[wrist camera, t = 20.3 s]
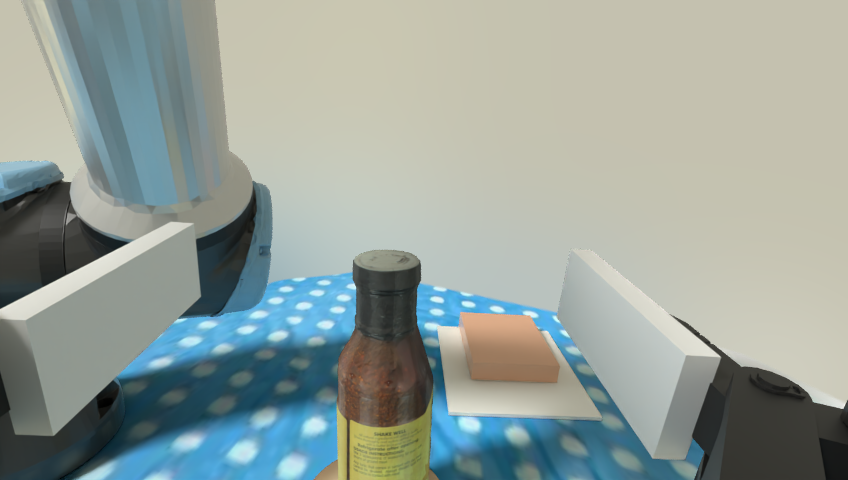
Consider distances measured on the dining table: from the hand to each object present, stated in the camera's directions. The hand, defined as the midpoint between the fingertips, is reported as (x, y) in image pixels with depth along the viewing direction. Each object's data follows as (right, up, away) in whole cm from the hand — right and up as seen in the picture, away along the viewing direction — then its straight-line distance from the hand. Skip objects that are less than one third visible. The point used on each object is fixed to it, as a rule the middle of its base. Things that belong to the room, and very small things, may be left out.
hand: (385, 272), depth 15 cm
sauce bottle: (-2, -19, +16) cm, 25 cm away
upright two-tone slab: (+12, -14, +33) cm, 38 cm away
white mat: (+12, -15, +37) cm, 41 cm away
